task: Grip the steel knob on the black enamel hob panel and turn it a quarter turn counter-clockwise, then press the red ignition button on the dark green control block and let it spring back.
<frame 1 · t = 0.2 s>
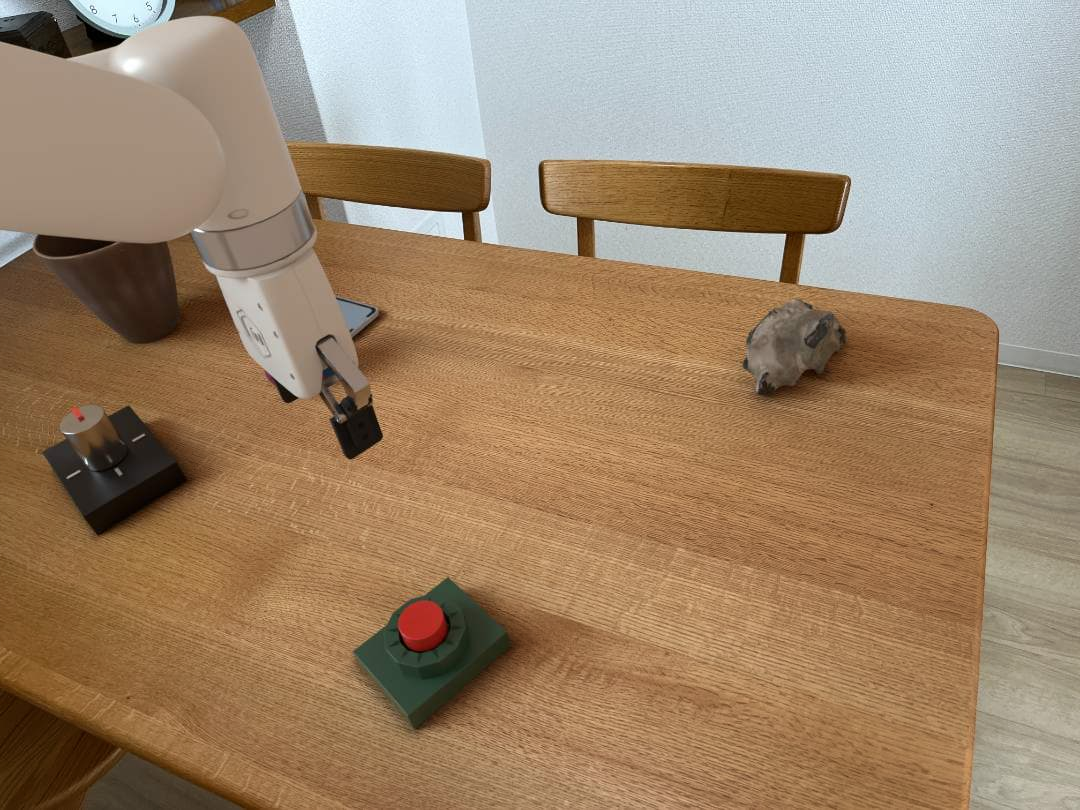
hand: (331, 419, 64), 18 cm above the table, tool pointing down, fingers open, 9 cm apart
decorative stone: (795, 368, 88), on the table
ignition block: (435, 656, 67), on the table
hob knob: (93, 437, 85), point 6 cm above the table, hinge at 0.0°
ignition button: (423, 625, 64), point 4 cm above the table, slide at 0.1 cm
flower pot: (152, 329, 111), on the table
mug: (309, 379, 98), on the table
hob panel: (120, 475, 89), on the table
smartphone: (323, 317, 107), on the table
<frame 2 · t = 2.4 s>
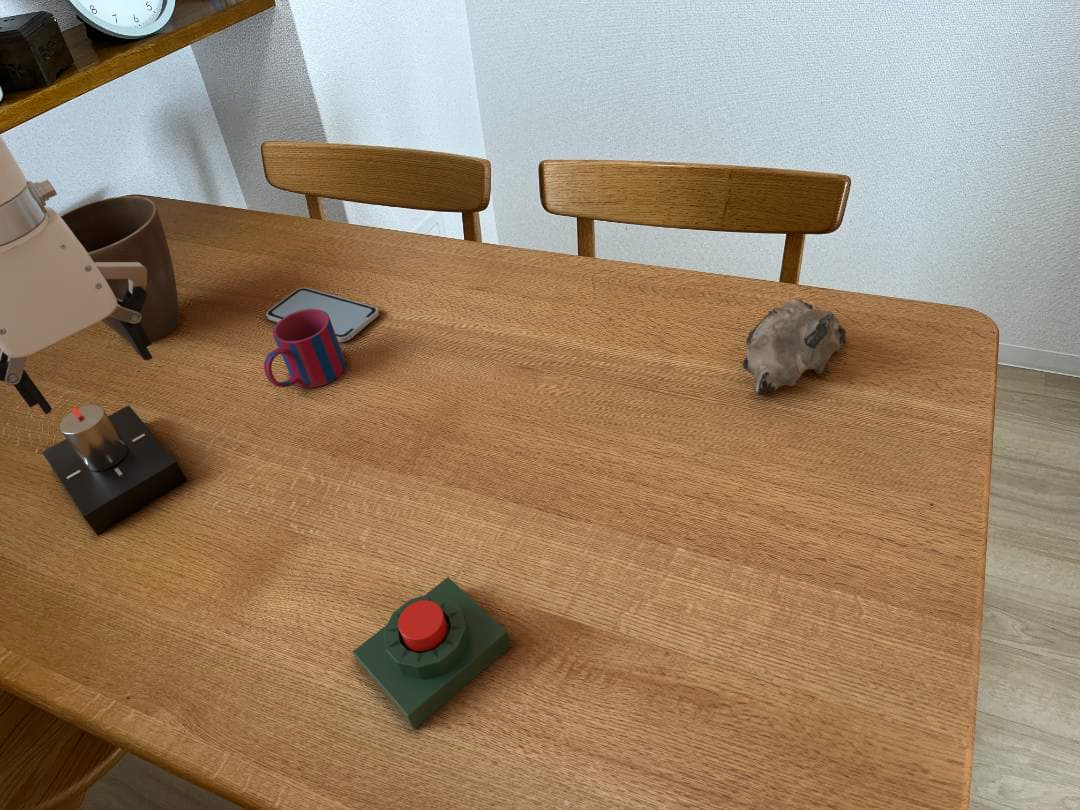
hand: (95, 379, 76), 15 cm above the table, tool pointing down, fingers open, 9 cm apart
nothing on the table moved.
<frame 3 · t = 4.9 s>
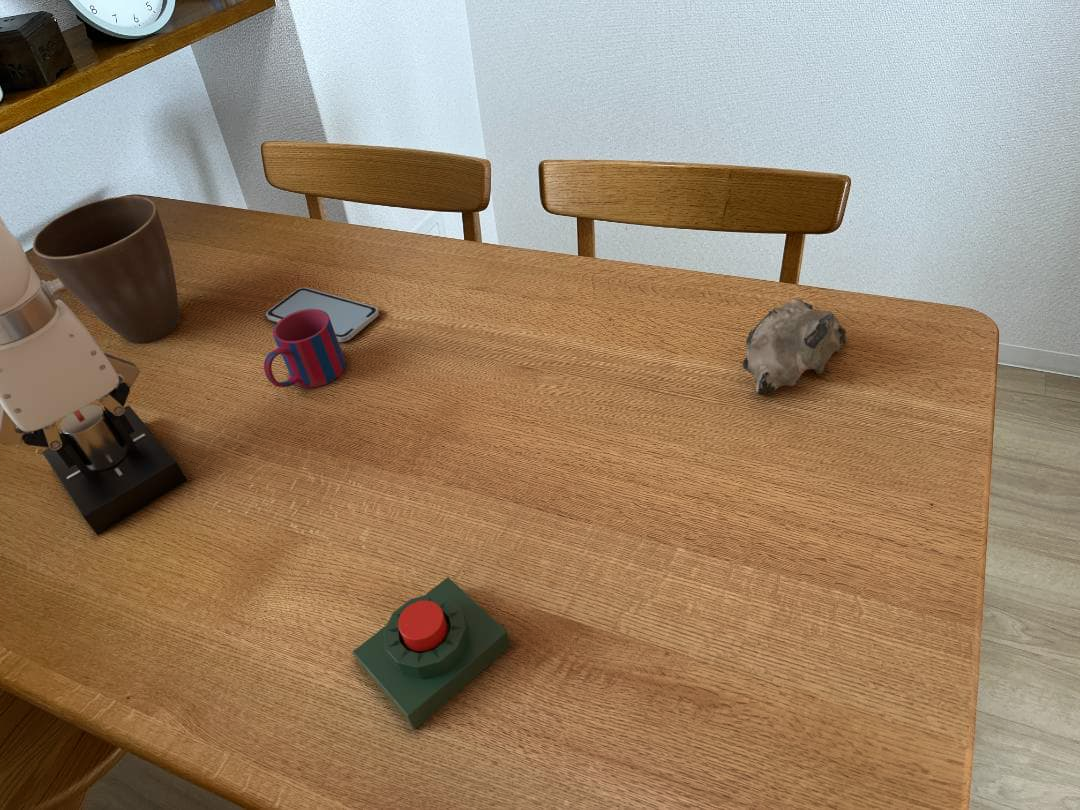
hand: (104, 451, 86), 4 cm above the table, tool pointing down, fingers closed on hob knob, 4 cm apart
hob knob: (93, 437, 85), point 6 cm above the table, hinge at -0.1°, touching gripper
everything else where it was.
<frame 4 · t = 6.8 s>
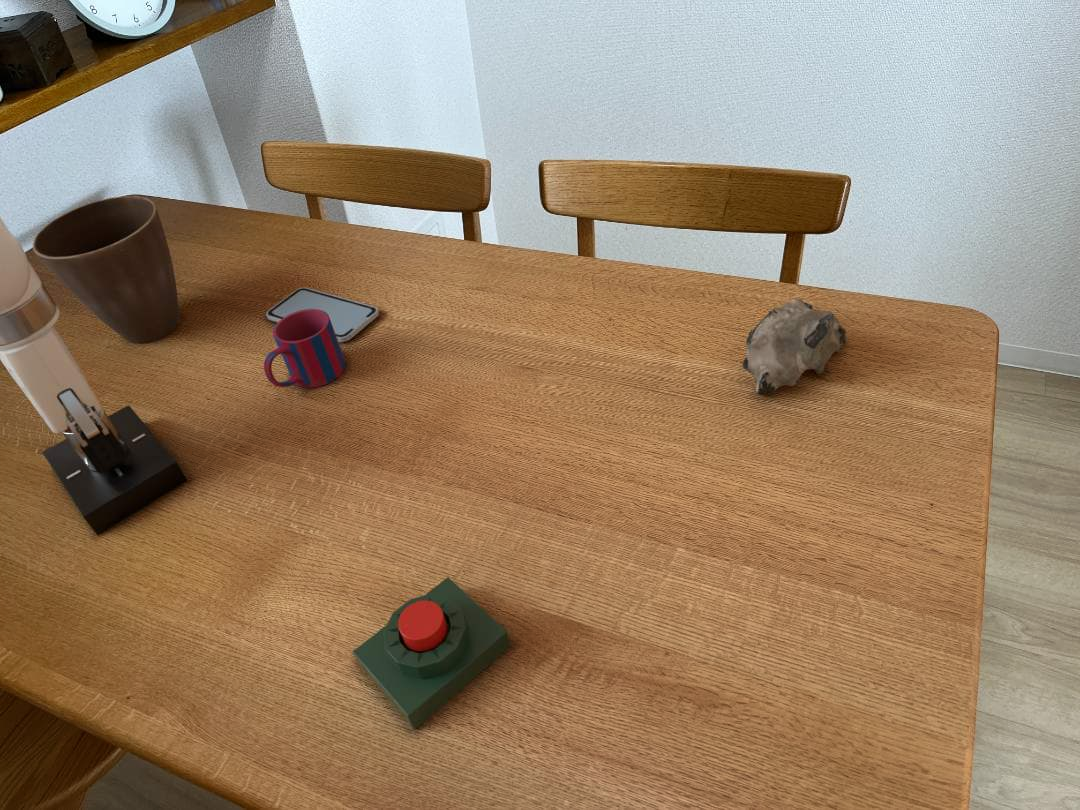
hand: (104, 451, 86), 4 cm above the table, tool pointing down, fingers closed on hob knob, 4 cm apart
hob knob: (93, 437, 85), point 6 cm above the table, hinge at 90.9°, touching gripper
everything else where it was.
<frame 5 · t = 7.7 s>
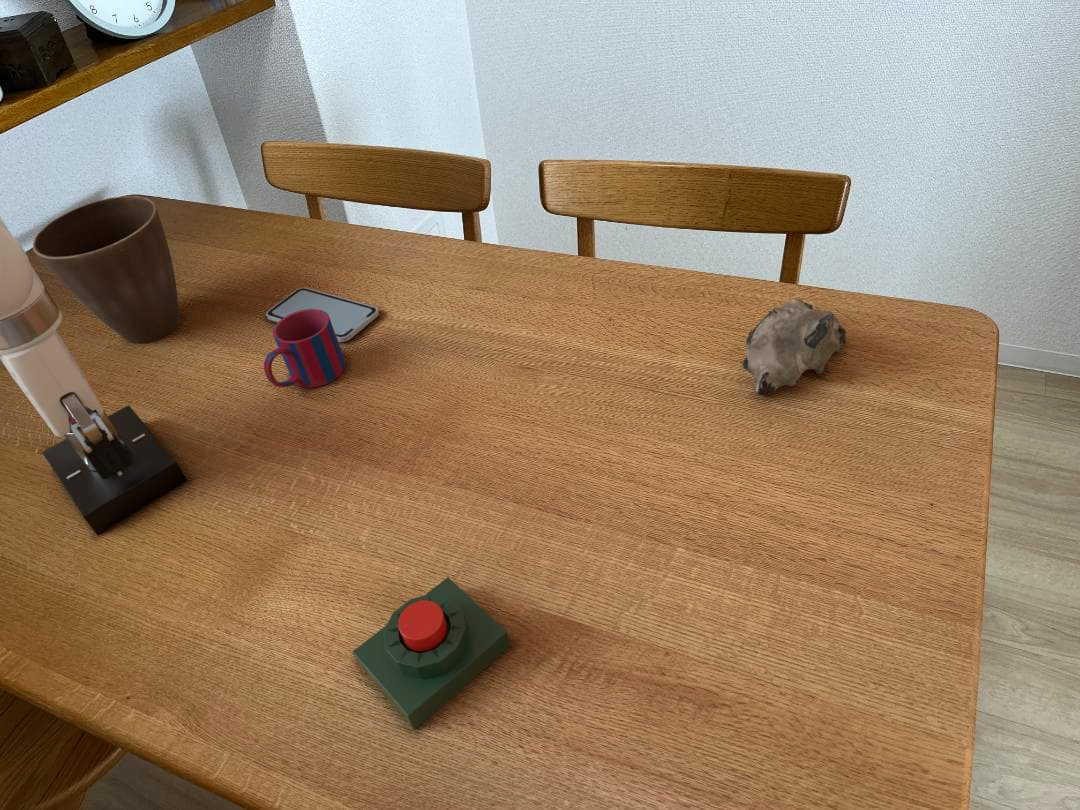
hand: (101, 448, 86), 4 cm above the table, tool pointing down, fingers open, 9 cm apart
hob knob: (93, 437, 85), point 6 cm above the table, hinge at 93.0°
everything else where it was.
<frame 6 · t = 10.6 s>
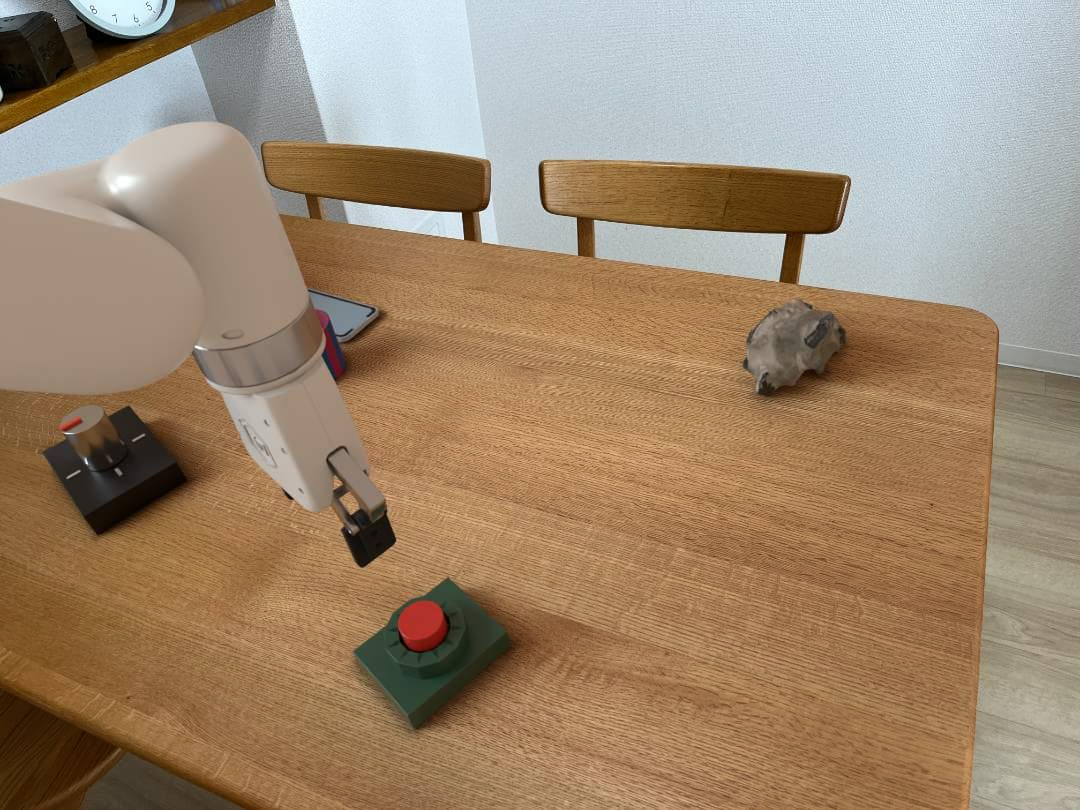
hand: (340, 519, 60), 14 cm above the table, tool pointing down, fingers open, 9 cm apart
nothing on the table moved.
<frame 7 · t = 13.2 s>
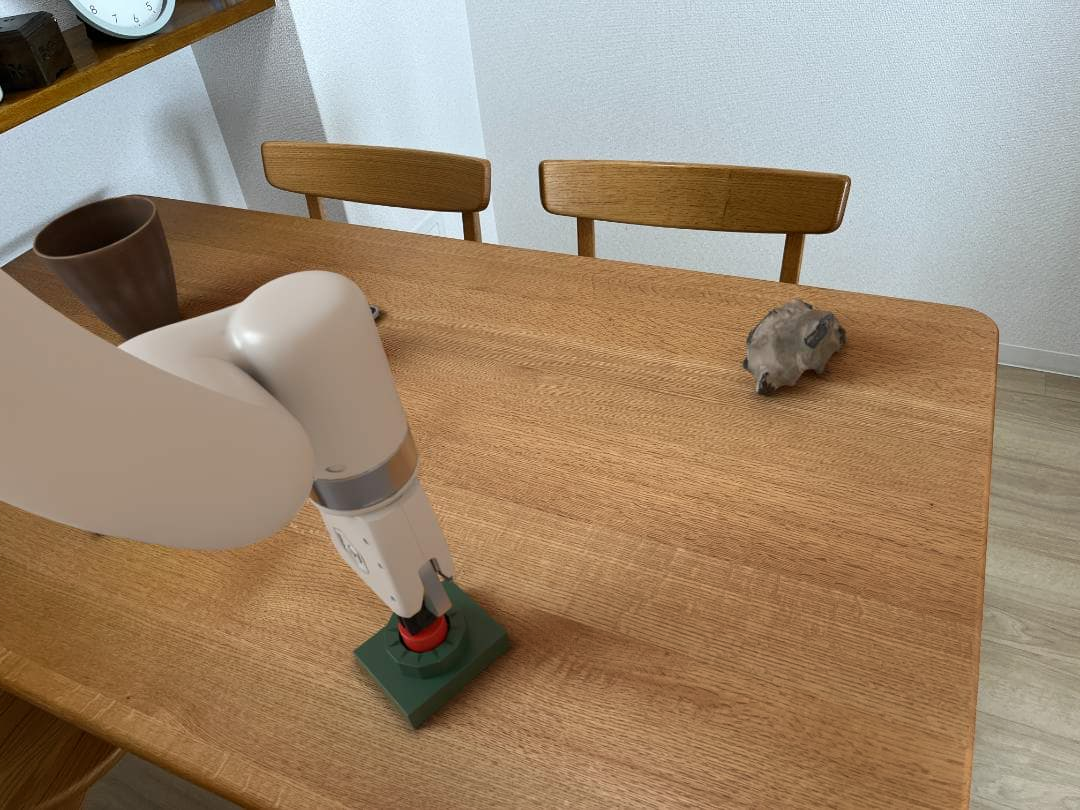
hand: (422, 618, 63), 5 cm above the table, tool pointing down, fingers closed
ignition button: (423, 626, 64), point 4 cm above the table, slide at 0.0 cm, touching gripper
everything else where it was.
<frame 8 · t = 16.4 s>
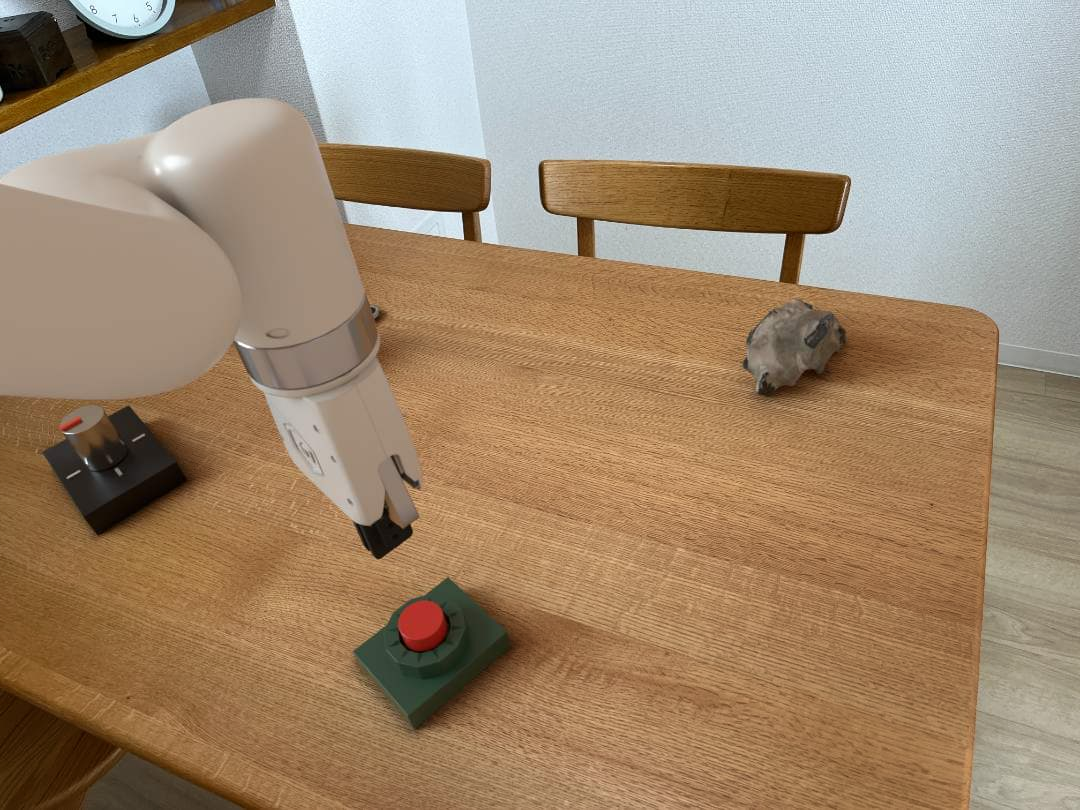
hand: (389, 541, 57), 15 cm above the table, tool pointing down, fingers closed
ignition button: (423, 625, 64), point 4 cm above the table, slide at 0.1 cm
everything else where it was.
at the end: hob knob at +93° (first picture: +0°); ignition button pushed in 1.1 cm at the most during the clip, back to where it started at the end; ignition button slide at 0.1 cm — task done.
